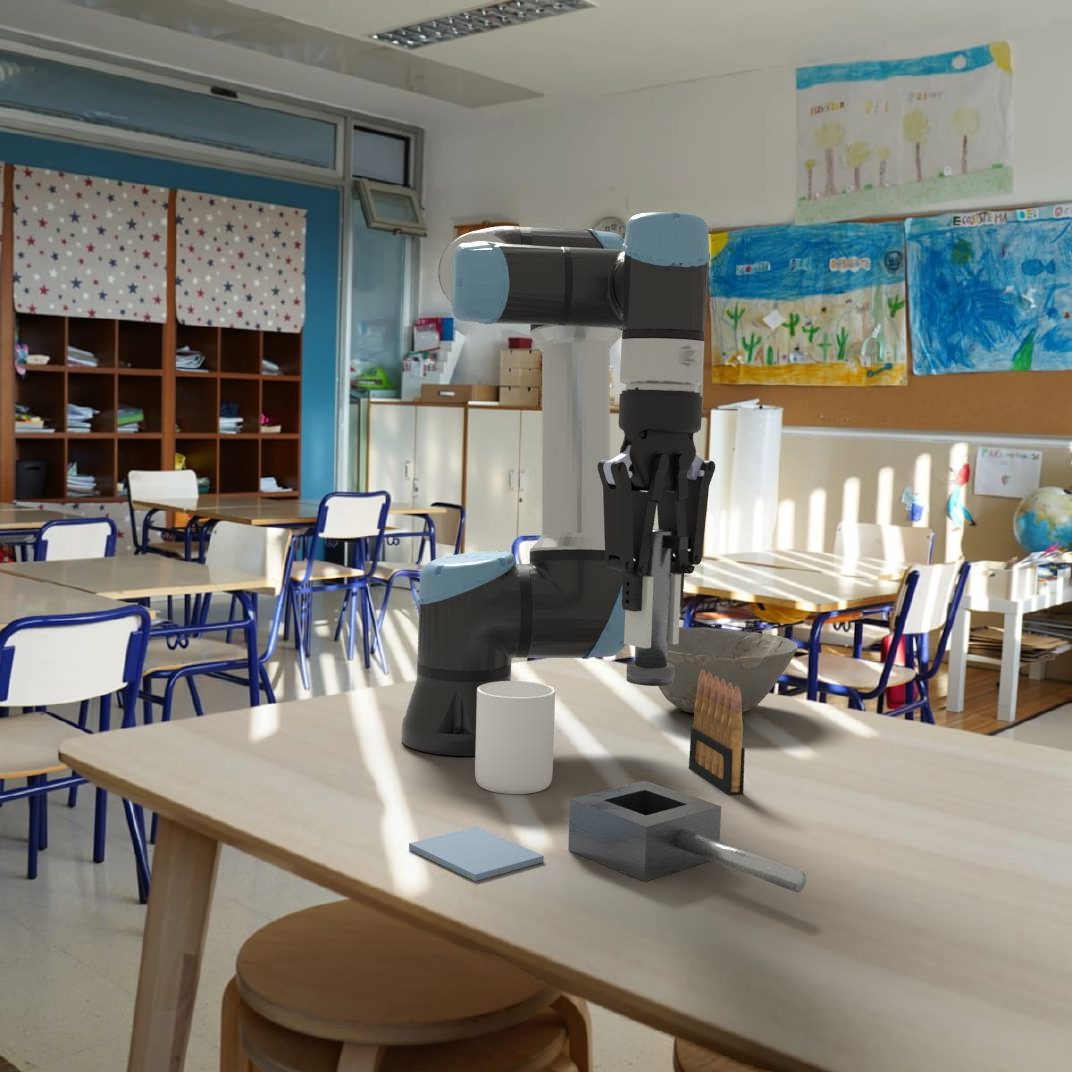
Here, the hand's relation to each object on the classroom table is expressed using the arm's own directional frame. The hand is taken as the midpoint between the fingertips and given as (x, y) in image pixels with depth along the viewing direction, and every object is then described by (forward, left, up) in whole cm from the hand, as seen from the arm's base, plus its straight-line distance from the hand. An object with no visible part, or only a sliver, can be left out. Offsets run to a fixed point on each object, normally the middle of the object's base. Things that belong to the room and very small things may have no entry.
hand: (651, 643), depth 118 cm
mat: (-9, -13, -20) cm, 26 cm away
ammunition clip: (-12, +24, -20) cm, 34 cm away
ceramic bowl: (-35, +50, -20) cm, 64 cm away
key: (0, 0, -4) cm, 4 cm away
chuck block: (+6, 0, -20) cm, 21 cm away
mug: (-26, +5, -20) cm, 33 cm away
